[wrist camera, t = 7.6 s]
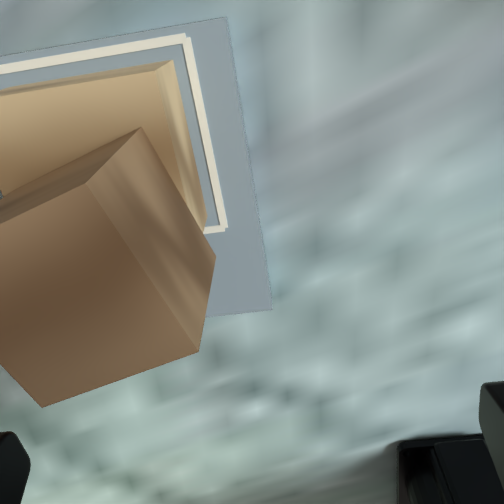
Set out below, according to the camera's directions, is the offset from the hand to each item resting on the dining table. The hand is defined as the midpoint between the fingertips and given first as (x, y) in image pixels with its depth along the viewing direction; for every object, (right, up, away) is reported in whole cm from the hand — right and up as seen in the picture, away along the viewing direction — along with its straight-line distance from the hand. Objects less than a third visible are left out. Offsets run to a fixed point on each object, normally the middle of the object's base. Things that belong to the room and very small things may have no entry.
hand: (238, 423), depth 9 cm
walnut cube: (-4, +4, +7) cm, 9 cm away
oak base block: (-5, +7, +9) cm, 12 cm away
